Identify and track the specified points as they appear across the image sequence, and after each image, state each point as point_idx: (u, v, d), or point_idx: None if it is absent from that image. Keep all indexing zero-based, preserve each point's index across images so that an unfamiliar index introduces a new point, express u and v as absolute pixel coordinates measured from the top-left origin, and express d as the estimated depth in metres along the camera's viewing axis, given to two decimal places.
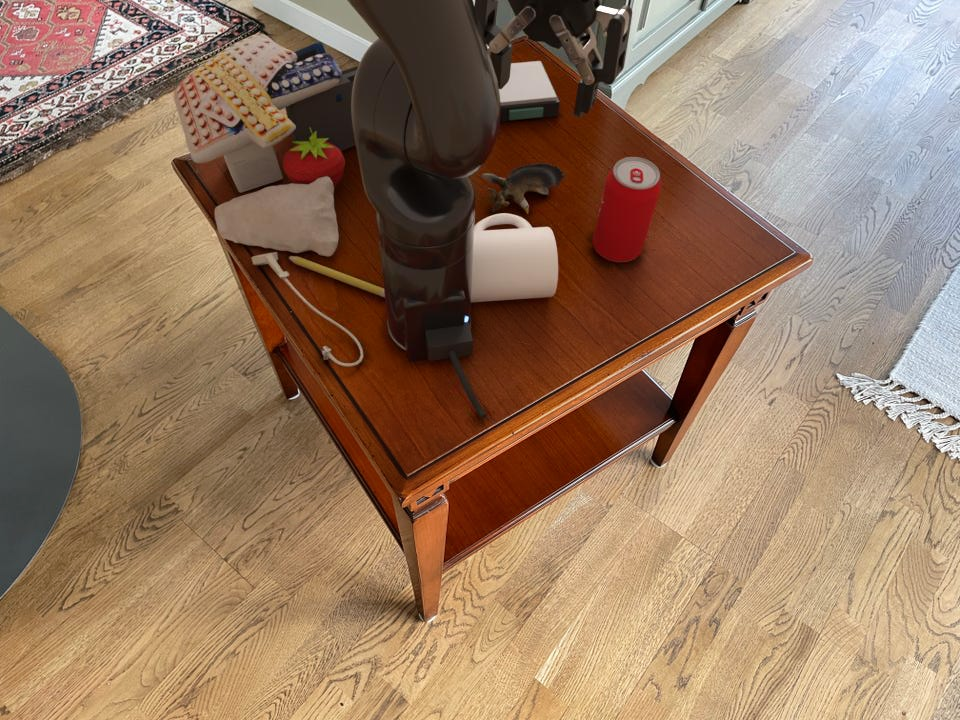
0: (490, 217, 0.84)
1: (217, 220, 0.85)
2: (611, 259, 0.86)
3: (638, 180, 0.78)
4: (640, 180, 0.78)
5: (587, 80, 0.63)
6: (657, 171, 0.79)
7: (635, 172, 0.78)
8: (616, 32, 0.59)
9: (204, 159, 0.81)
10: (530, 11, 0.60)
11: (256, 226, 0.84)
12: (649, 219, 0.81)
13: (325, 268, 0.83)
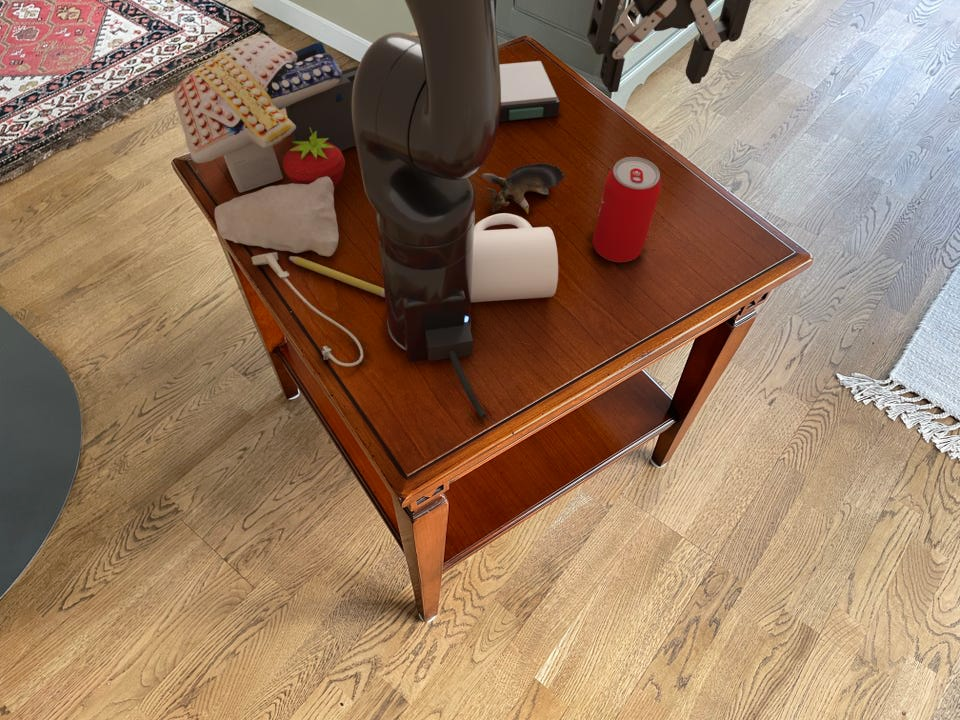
0: (490, 217, 0.84)
1: (217, 220, 0.85)
2: (611, 259, 0.86)
3: (638, 180, 0.78)
4: (640, 180, 0.78)
5: (715, 45, 0.66)
6: (657, 171, 0.79)
7: (635, 172, 0.78)
8: None
9: (204, 159, 0.81)
10: (671, 2, 0.60)
11: (256, 226, 0.84)
12: (649, 219, 0.81)
13: (325, 268, 0.83)
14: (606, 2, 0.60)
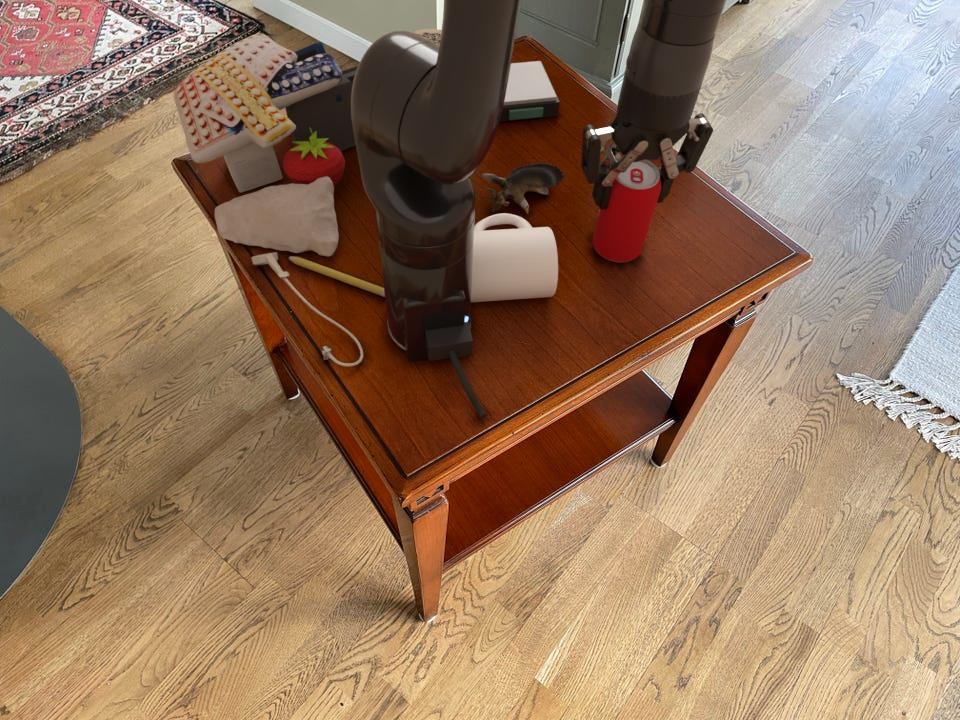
0: (490, 217, 0.84)
1: (217, 220, 0.85)
2: (611, 259, 0.86)
3: (638, 180, 0.78)
4: (640, 180, 0.78)
5: (673, 176, 0.78)
6: (657, 171, 0.79)
7: (635, 172, 0.78)
8: (707, 136, 0.75)
9: (204, 159, 0.81)
10: (643, 143, 0.73)
11: (256, 226, 0.84)
12: (649, 219, 0.81)
13: (325, 268, 0.83)
14: (589, 149, 0.73)
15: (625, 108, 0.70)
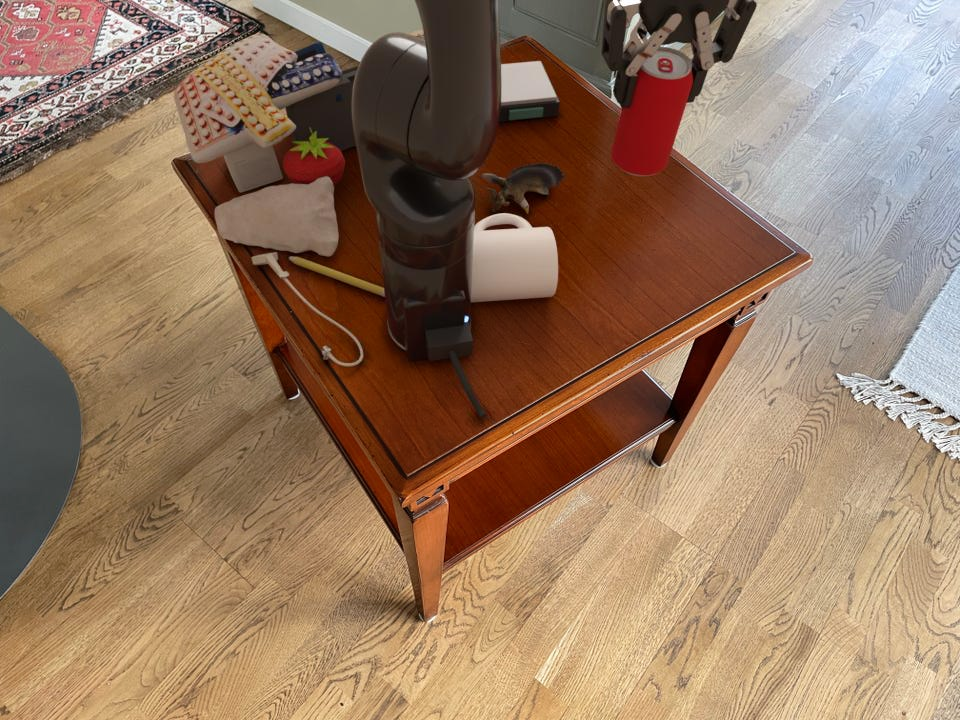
0: (490, 217, 0.84)
1: (217, 220, 0.85)
2: (632, 172, 0.75)
3: (667, 70, 0.67)
4: (669, 69, 0.67)
5: (707, 66, 0.68)
6: (689, 61, 0.68)
7: (664, 62, 0.68)
8: (749, 13, 0.64)
9: (204, 159, 0.81)
10: (676, 17, 0.62)
11: (256, 226, 0.84)
12: (678, 121, 0.71)
13: (325, 268, 0.83)
14: (613, 23, 0.62)
15: None
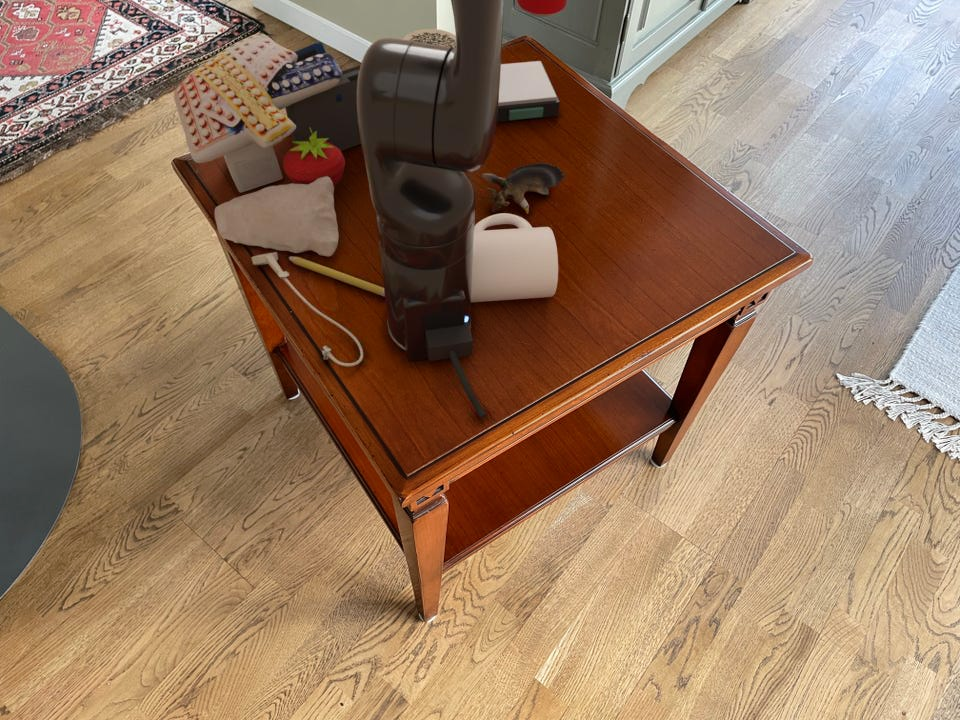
0: (490, 217, 0.84)
1: (217, 220, 0.85)
2: (533, 12, 0.87)
3: None
4: None
5: None
6: None
7: None
8: None
9: (204, 159, 0.81)
10: None
11: (256, 226, 0.84)
12: None
13: (325, 268, 0.83)
14: None
15: None
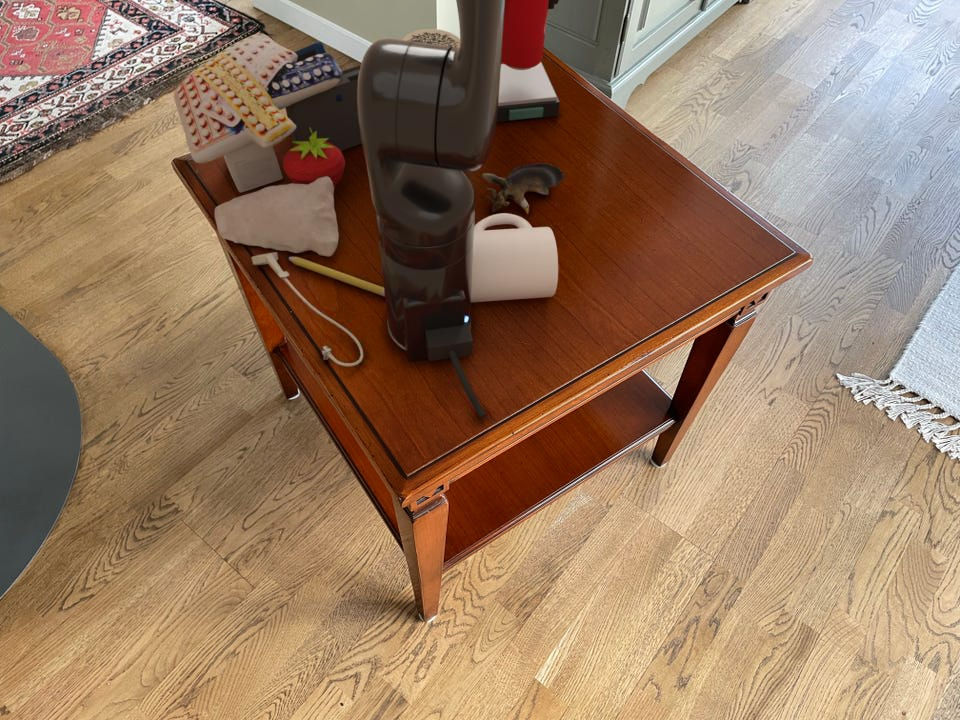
0: (490, 217, 0.84)
1: (217, 220, 0.85)
2: (513, 66, 0.97)
3: None
4: None
5: None
6: None
7: None
8: None
9: (205, 159, 0.81)
10: None
11: (256, 226, 0.84)
12: (542, 22, 0.93)
13: (325, 268, 0.83)
14: None
15: None
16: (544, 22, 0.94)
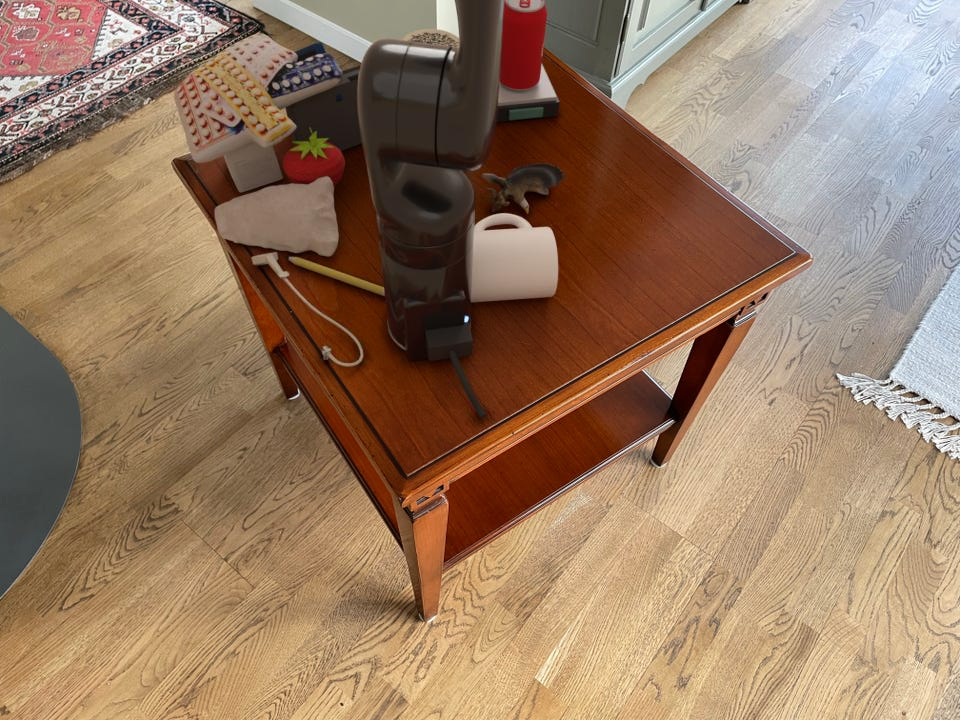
0: (490, 217, 0.84)
1: (217, 220, 0.85)
2: (511, 87, 1.00)
3: (525, 6, 0.92)
4: (527, 5, 0.92)
5: None
6: (543, 0, 0.93)
7: (524, 0, 0.93)
8: None
9: (205, 159, 0.81)
10: None
11: (256, 226, 0.84)
12: (539, 45, 0.96)
13: (325, 268, 0.83)
14: None
15: None
16: (541, 45, 0.96)
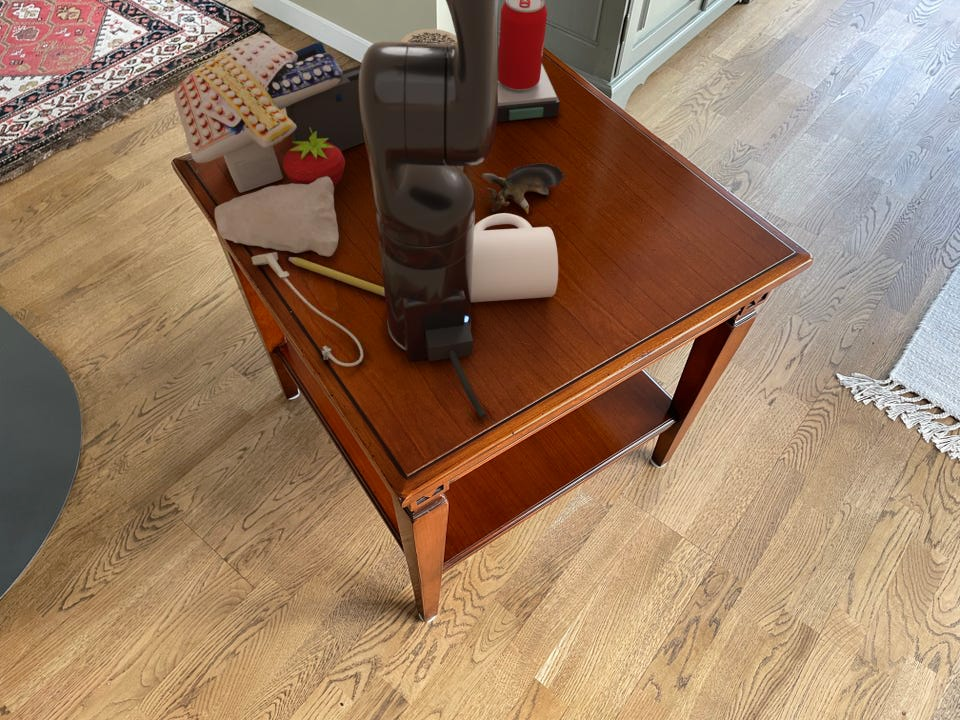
0: (490, 217, 0.84)
1: (217, 220, 0.85)
2: (511, 87, 1.00)
3: (525, 6, 0.92)
4: (526, 5, 0.92)
5: None
6: (543, 0, 0.93)
7: (524, 0, 0.93)
8: None
9: (205, 159, 0.81)
10: None
11: (256, 226, 0.84)
12: (539, 45, 0.96)
13: (325, 268, 0.83)
14: None
15: None
16: (541, 45, 0.96)
